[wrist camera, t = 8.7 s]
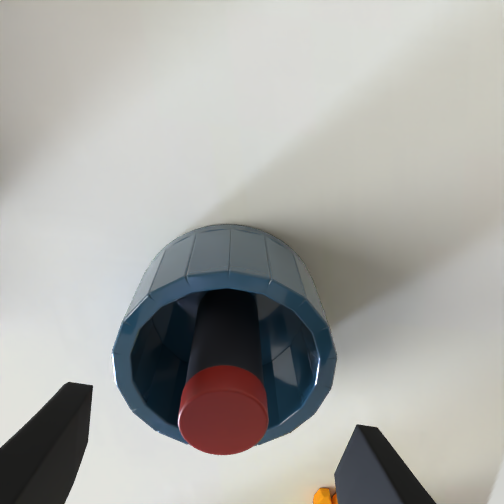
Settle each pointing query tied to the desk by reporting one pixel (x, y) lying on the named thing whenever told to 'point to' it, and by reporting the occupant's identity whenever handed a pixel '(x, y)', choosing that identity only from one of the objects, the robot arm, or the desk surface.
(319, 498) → the toy figure
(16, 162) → the desk surface
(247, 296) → the marker
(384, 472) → the robot arm
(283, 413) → the blue bowl
